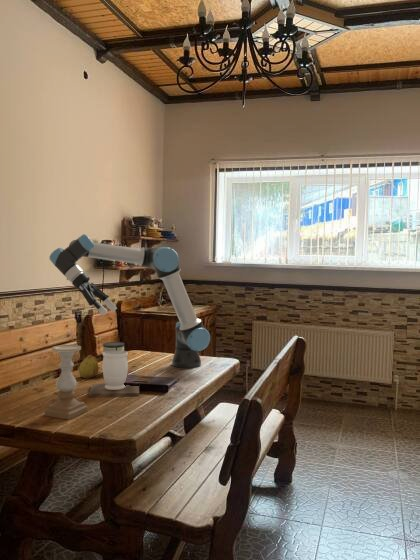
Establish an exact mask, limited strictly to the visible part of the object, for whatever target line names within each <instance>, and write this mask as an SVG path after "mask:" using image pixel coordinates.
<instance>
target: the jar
mask: <svg viewBox="0 0 420 560" xmlns="http://www.w3.org/2000/svg"><path fill="white" fill-rule="evenodd" d="M128 355H129V351H127V350H124V351H118V350H115V351H106V352H103V351H102V356H104V358H103V357H102V366H101V367H102V368H101V370H102V375H103V381H104V382H105V383H104V384H106V385H105V388H106V389H108V390H121V389H124V388H125V385H124V383H126V380H127V376H128V371H129V360H128Z"/></svg>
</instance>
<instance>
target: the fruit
mask: <svg viewBox="0 0 420 560" xmlns="http://www.w3.org/2000/svg"><path fill="white" fill-rule="evenodd" d="M95 353H96V351H93V353H92V354H88V355H87V356H86V357H85V358H84V359H83V360H82V362H80V365H79V366H78V375H80V377H81V378H83V379H91V378H95V377H96V376H97V375H98V374H99V370H100V369H99V363H98V361H97V359H96V357H95V356H94V354H95Z"/></svg>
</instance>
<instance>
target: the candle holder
mask: <svg viewBox="0 0 420 560" xmlns="http://www.w3.org/2000/svg"><path fill="white" fill-rule="evenodd" d="M81 350H82V346H81V345H76V344H62V345H61V344H60V345H54V346H52V347H51V351H52V352H54V353H58V355H59V357H60V358H61V360H60V363H59V364H58V367H60V370H61V373H60V375H59V377H58V378H57V380H56V382H55V387H56V389H57V390H59V391H58V392H57V397H58V399H57V400H55V401H54V403H51V404H49V405H47V409H44V416H45V417H50V418H56V419H61V420H67V421H68V420H72V419H75V418H77V417H79V416H81V415H82V414H84V413H87V412H89V411H88V410H89V408H88V406H87V405H86V403H85V402H84V401H79V400H77V399H76V398H75V396H76V392H75V391H74V390H75V389H76V387H77V385H78V382H77V379H76V378H75V376H74V374H73V372H72V370H73V367H74V365H75V364H74V362H73V360H72V359H73V356H74V354H75V352H79V351H81Z"/></svg>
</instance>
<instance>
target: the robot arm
mask: <svg viewBox="0 0 420 560" xmlns="http://www.w3.org/2000/svg"><path fill="white" fill-rule="evenodd" d="M83 257H85V258H93V259H97V260H99V259H100V260H106V261H113V262H114V261H115V262H121V263H129V264H135V265H138V266H139V267H144V268H146V269H147V268H148V269H151V270H153V271H155V273H156V275H157V279H160V280H162V282H163V284H164V287H165V289H166V291H167V294H168V297H169V299H170V301H171V303H172V304H171V305H172V307H173V308H174V311H175V314H176V315H177V318H178V321H177V322H176V323H175V328H174V329H175V350H174V354H173V356H172V357H173V358H172V361H171V365H172V366H173V367H175V368H179V369H180V368H181V369H189V368H191V369H192V368H193V369H194V368H198V367H200V366H202V360H201V356H200V353H199V352H201V351H203V350H205V349H207V348H208V346H209V344H210V342H211V334H210V332H209V330H207V329H206V328H205V326H204V324H203V321H202V319H200V318H198V317H197V315H196V311H195V309H194V307H193V305H192V301H191V300H190V298H189V295H188V293H187V292H188V291H187V290H186V287H185V285H184V283H183V280H182V278H181V275H180V272H181V270H182V269H181V266H180V264H179V263H180V259H179V258H180V257H179V254H178V253H177V251H175V249H173V248H171V247H168V246H160V247H159V246H158V247H144V246H143V247H141V248H137V247H129V246H123V245H122V246H121V245H115V244H108V243H103V242H101V243H100V242H94V241H93V240H92V239H91V238H90V237H89V236H88V235H87V234H81V235H80V236H79V237H78V238H76V239H74V240H72V241H71V242H70V243H69V245H68V246H67V247H66V248H64V249H63V248H62V247H58V248H56V249H54V250H53V251H52V252H51V253H50V255H49V260H50V263H52V264H53V266H55V268H57V269H58V270H59V272H60V273H61V274H62V275H63V276H64V277H65V279H66V281H69V282H70V283H71V284H72V285H73V287H75V288H76V290H79V291H80V292H81V294H82V296H83V297H84V298H85V300H86V302H87V303H88V305H89V306H90V307H91V306H93V307H94V308H95V309H96V310H97V311H98V313H100V314H101V316H102V317H103V316H105V315H106V314H107V313H108V311H109V310H110V311H111V312H112V313H114V312H115V311H116V310H117V309H118V307H117V306H116V305H115V304H114V303H113V302H112V301H111V300H110V299H109V295H107V294H106V293H105V292H104V291H102V290H101V289H100V288H99V287H98V286H97V285H95V284H94V283H93V282H91V283H90V282H89V281H90V276H89V275H88V274H87V273H86V272H84V269H82V267H80V266H79V265H78V264H77V262H78V261H79V260H80V259H81V258H83ZM96 297H97V298H98V299H100V300H101V301H102V302H103V304H104V305H105V306H106V307H107V308H108V309H109V310H107V309H106V308H105V306H104V305H102V303H101V302H100V301H99V300H97V299H96Z"/></svg>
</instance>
